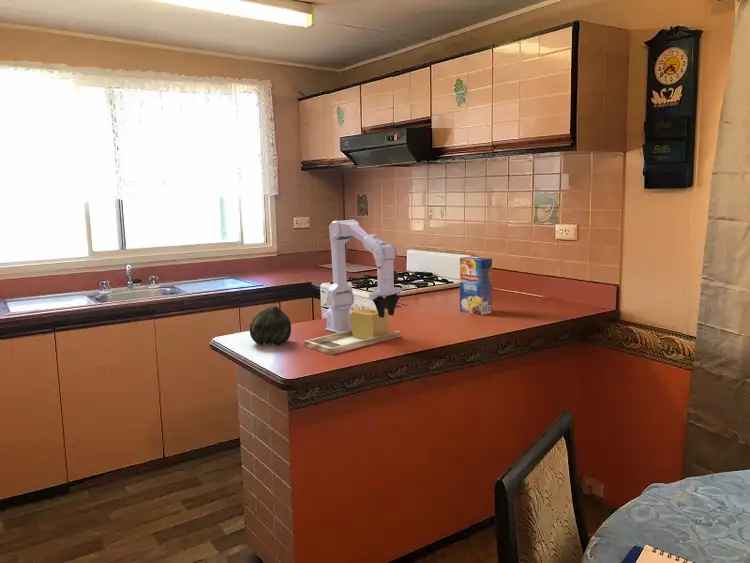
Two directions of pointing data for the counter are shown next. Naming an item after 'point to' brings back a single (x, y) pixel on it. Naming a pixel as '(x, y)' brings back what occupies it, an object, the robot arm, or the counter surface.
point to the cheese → (368, 323)
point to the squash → (270, 327)
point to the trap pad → (329, 344)
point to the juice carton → (476, 285)
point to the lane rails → (315, 344)
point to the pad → (346, 340)
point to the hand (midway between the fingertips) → (386, 316)
